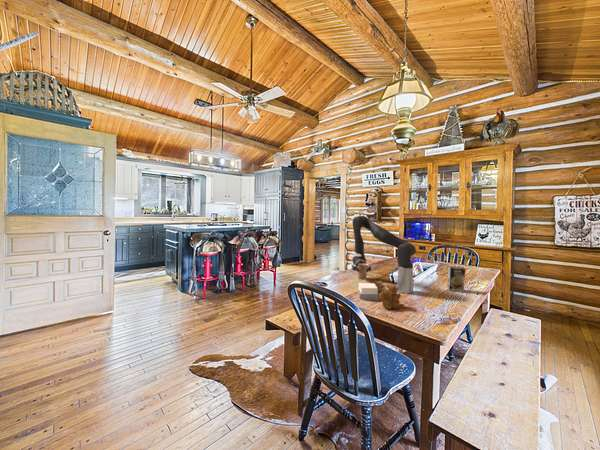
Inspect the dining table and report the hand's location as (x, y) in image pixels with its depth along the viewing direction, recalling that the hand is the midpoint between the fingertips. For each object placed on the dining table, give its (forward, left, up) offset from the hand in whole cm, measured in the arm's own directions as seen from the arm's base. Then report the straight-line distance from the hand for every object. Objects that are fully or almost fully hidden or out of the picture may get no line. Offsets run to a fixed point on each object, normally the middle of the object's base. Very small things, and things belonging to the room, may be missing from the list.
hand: (362, 270), depth 173 cm
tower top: (-3, +9, -11) cm, 15 cm away
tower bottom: (-3, +9, -15) cm, 18 cm away
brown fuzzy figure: (-14, +24, -15) cm, 31 cm away
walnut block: (0, -3, -6) cm, 7 cm away
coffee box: (-65, -15, -15) cm, 68 cm away
